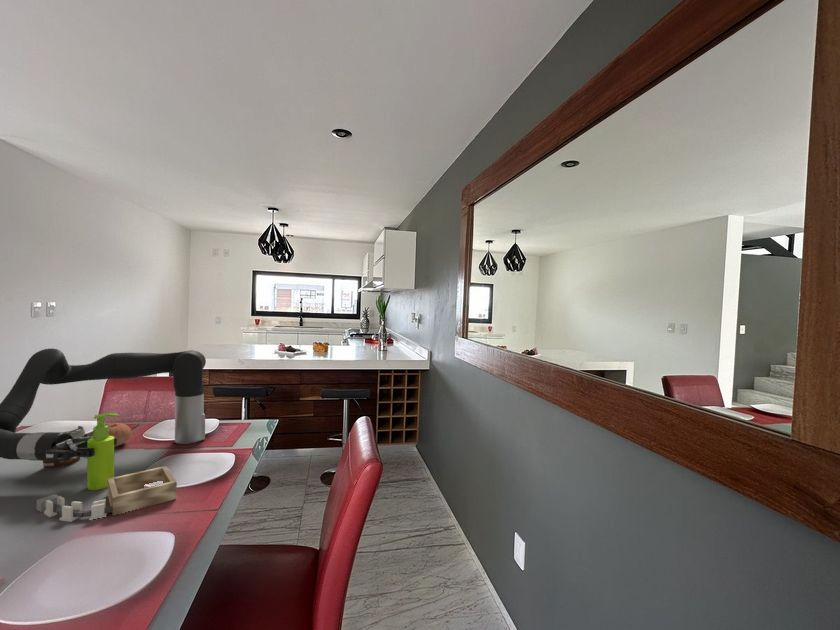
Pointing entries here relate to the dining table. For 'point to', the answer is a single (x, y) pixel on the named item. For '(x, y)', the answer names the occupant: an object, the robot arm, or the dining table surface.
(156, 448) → the dining table surface
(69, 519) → the cable route
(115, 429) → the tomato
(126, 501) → the open square wooden frame
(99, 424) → the soap dispenser
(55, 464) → the food container
